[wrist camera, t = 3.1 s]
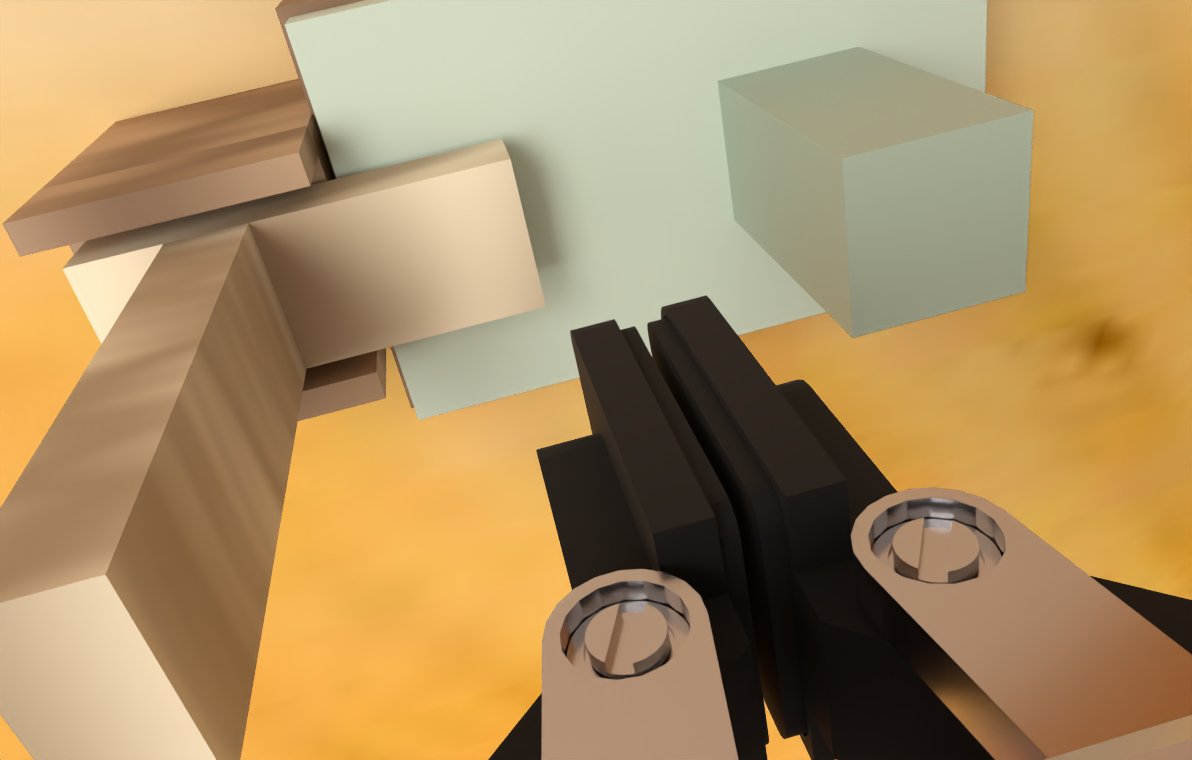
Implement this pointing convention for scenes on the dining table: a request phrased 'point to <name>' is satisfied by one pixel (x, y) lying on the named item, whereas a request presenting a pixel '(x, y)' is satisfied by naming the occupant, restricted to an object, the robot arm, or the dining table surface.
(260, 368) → the t-shaped block
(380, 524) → the dining table surface
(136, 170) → the toolbox
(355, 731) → the dining table surface
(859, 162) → the lid
